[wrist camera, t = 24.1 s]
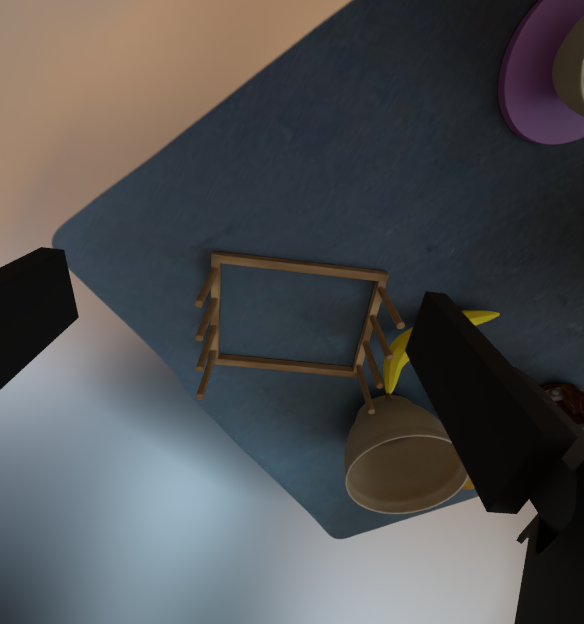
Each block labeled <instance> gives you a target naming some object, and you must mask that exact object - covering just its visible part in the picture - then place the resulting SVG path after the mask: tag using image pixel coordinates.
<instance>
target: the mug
mask: <svg viewBox="0 0 584 624" xmlns="http://www.w3.org/2000/svg"><path fill="white" fill-rule="evenodd" d="M541 388H542V389H543V390H544V391H545V392H546V395H549V396H550V397H551V398H552V399H553V400H554V401H555V402H556V403H557V407H560V408H561V409H562V410H563V411H564V412H565V413H566V414H567V415H568V416H569V417H570V418H571V419H572V420H573V421H574V422H575V423H576V424H577V425H578V426H579V427H580V429H581V430H582V431H583V432H584V389H580V388H577V387H576V386H575V385H573V384H554V385H553V387H552V386H551V385H546V386H543V387H541Z"/></svg>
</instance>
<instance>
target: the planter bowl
mask: <svg viewBox="0 0 584 624" xmlns="http://www.w3.org/2000/svg"><path fill="white" fill-rule="evenodd" d="M385 397H386V395H383V396H379V397H376V398H373V399H371V400H372V403H373V407H374V410H375V413H374V414H369V413H368V410H367V407H366V403H365V404H364V405H363V406H362V407H361V408H360V409H359V411H358V413H357V416H356V420H355V422H354V424H353V425H352V427H351V430H350V432H349V435H348V438H347V442H346V447H345V458H344V463H345V485H346V489H347V492H348V494H349V495H350V497H351V498H352V499H353V500H354V501H355V502H356V503H357V504H359V505H360V506H362V507H364V508H366V509H369V510H371V511H375V512H379V513H386V514H407V513H413V512H418V511H422V510H426V509H429V508H432V507H435V506H437V505H439V504H441V503H443V502H445V501H447V500H448V499H450V498H451V497H453V496H454V495H455V494H456V493H457V492H458V491H459V490H460V489H461V488H462V487H463V486H464V484H465V483H466V481H467V479H468V477H469V476H468V474H467V472H466V470H465V468H464V466H463V464H462V462H461V460H460V458H459V456H458V454H457V452H456V450H455V448H454V446H453V444H452V442H451V440H450V438H449V436H448V434H447V432H446V431H445V429H444V427H443V425H442V423H441V421H440V420H439V419H438V418H436V417H435V416H434V415H433V414H431V413H430V412H428V411H427V410H425V409H423V408H422V407H420V406H417V405H415V404H413V403H412V402H411V401H410V400H408V399H406V398H404V397H402V396H398V395H390V397H391V399H390V401H388V400H386V398H385Z"/></svg>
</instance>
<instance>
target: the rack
mask: <svg viewBox="0 0 584 624" xmlns="http://www.w3.org/2000/svg"><path fill="white" fill-rule="evenodd" d="M221 263H224V264H233V265H242V266H250V267H259V268H268V269H276V270H285V271H293V272H302V273H311V274H319V275H328V276H337V277H345V278H354V279H362V280H371V281H376V282H375V286H374V289H373V293H372V297H371V300H370V304H369V308H368V311H367V315H366V318H365V322H364V326H363V329H362V333H361V337H360V340H359V344H358V348H357V351H356V355H355V359H354V362H353V366H352V367H350V366H339V365H329V364H319V363H308V362H298V361H288V360H278V359H267V358H257V357H247V356H236V355H226V354H219V338H220V298H221ZM388 276H389V275H388V273H387V272H386V271H379V270H371V269H362V268H354V267H346V266H337V265H329V264H320V263H312V262H303V261H295V260H286V259H278V258H269V257H261V256H253V255H244V254H236V253H227V252H219V251H213V252H212V254H211V272H210V274H209V276H208V278H207V280H206V282H205V284H204V286H203V287H202V289H201V291H200V293H199V295H198V297H197V299H196V301H195V303H194V304H195V306H196V307H198V308H200V307H202V306H203V304H204V302H205V300H206V297H207V295H208V293H209V291H210V289H211V302H210V304H209V307H208V309H207V311H206V314H205V316H204V318H203V320H202V323H201V325H200V327H199V330H198V332H197V334H196V336H195V340H196V341H198V342H201V341H202V340H203V338H204V335H205V333H206V330H207V328H208V325H209V323H210V320H211V329H210V332H209V334H208V337H207V340H206V342H205V345H204V348H203V350H202V353H201V355H200V358H199V361H198V363H197V366H196V371H198V372H202V371H203V369H204V366H205V363H206V360H207V357H208V354H209V351H210V357H209V360H208V362H207V365H206V368H205V371H204V374H203V377H202V380H201V383H200V386H199V389H198V392H197V395H196V398H197V399H202V398H203V396H204V393H205V390H206V387H207V383H208V380H209V377H210V374H211V371H212V368H213V364H219V365H229V366H240V367H250V368H261V369H271V370H282V371H292V372H303V373H314V374H324V375H335V376H345V377H356V378H359V381H360V385H361V388H362V392H363V396H364V399H365V403H366V407H367V410H368V413H369V414H374V413H375V410H374V407H373V403H372V400H371V397H370V393H369V390H368V387H367V383H366V380H365V376H364V373H363V370H362V365H363V361H364V358H365V354H366V357H367V360H368V363H369V366H370V369H371V372H372V375H373V378H374V381H375V384H376V387H377V388H378V389H381V388H383V386H384V385H383V382H382V379H381V376H380V374H379V371H378V368H377V365H376V363H375V360H374V357H373V354H372V351H371V349H370V346H369V341H370V337H371V334H372V331H373V328H374V331H375V333H376V335H377V338H378V340H379V343H380V345H381V348H382V350H383V352H384V355H385V357H386V359H387V360H389V361H390V360H392V359H393V357H394V356H393V354H392V352H391V350H390V347H389V345H388V343H387V341H386V339H385V336H384V334H383V332H382V330H381V327H380V325H379V323H378V321H377V318H376V317H377V313H378V310H379V307H380V303H381V300H383V302H384V304H385V306H386V308H387V310H388V312H389V314H390V315H391V317H392V319H393V321H394V323H395V325H396V327H397V328H398V329H403V328H404V326H405V324H404V322H403V321H402V319H401V317H400V316H399V314H398V312H397V310H396V309H395V307H394V305H393V303H392V302H391V300H390V298H389V296H388V295H387V293H386V291H385V286H386V283H387V279H388Z"/></svg>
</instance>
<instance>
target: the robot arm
mask: <svg viewBox="0 0 584 624" xmlns="http://www.w3.org/2000/svg"><path fill="white" fill-rule="evenodd" d="M77 318H78V312H77V307H76V302H75V298H74V293H73V289H72V284H71V279H70V275H69V270H68V266H67V261H66V256H65V252H64V250H61V249H53V248H43V247H41V248H39V249H37V250H35V251H33V252H31V253H29V254H27V255H25V256H23V257H21V258H19V259H17V260H15V261H13V262H11V263H9V264H7V265H5V266H3V267H1V268H0V389H2V388H3V387H4V386H5V385H6V384H7V383H8V382H9V381H10V380H11V379H12V378H13V377H15V375H17V374H18V373H19V372H20V371H21V370H22V369H23V368H24V367H25V366H26V365H27V364H29V363H30V362H31V361H32V360H33V359H34V358H35V357H36V356H37V355H38V354H39V353H40V352H42V351H43V350H44V349H45V348H46V347H47V346H48V345H49V344H50V343H51V342H53V341H54V339H56V338H57V337H58V336H59V335H60V334H61V333H62V332H63V331H64V330H66V329H67V328H68V327H69V326H70V325H71V324H72V323H73V322H74V321H75V320H76V319H77ZM405 352H406V354H407V356H408V358H409V360H410V362H411V364H412V366H413V368H414V370H415V372H416V374H417V376H418V378H419V380H420V381H421V383H422V385H423V387H424V389H425V391H426V393H427V395H428V397H429V399H430V401H431V403H432V405H433V407H434V409H435V411H436V413H437V415H438V417H439V419H440V421H441V423H442V425H443V427H444V429H445V431H446V432H447V434H448V436H449V438H450V440H451V442H452V444H453V446H454V448H455V450H456V452H457V454H458V456H459V458H460V460H461V462H462V464H463V466H464V468H465V470H466V472H467V474H468V476H469V478H470V480H471V482H472V483H473V485H474V487H475V489H476V491H477V493H478V495H479V497H480V499H481V501H482V503H483V505H484V507H485V509H486V511H487V512H494V513H509V514H517V513H518V512H519V511H520V509H521V508H522V507H523V506H524V504H525V503H526V502H527V501H528V499H530V501H531V503H532V504H533V505H534V507H535V509H536V510H537V512H538V514H537V515H536V516H535V518H534V519H533V520H532V521H531V522H530V524H529V525H528V526H527V527H526V528H525V529H524V530H523V531H522V533H521V534H520V535H519V537H518V539H517V541H518V542H520V543H521V544H522V543H523V542H524V540H525V539H526V538H529V540H528V546H527V552H526V558H525V564H524V570H523V576H522V582H521V588H520V594H519V600H518V606H517V612H516V618H515V624H584V432H583V431H582V430H581V429H580V427H579V426H578V425H577V424H576V423H575V422H574V421H573V420H572V419H571V418H570V417H569V416H568V415H567V414H566V413H565V412H564V411H563V410H562V409H561V408H560V407H557V403H556V402H555V401H554V400H553V399H552V398H551V397H550V396H549V395H546V392H545V391H544V390H543V389H542V388H541V387H540V386H539V385H538V384H537V382H536V381H535V380H534V379H532V378H531V377H529V376H528V375H526V374H525V373H524V372H522V371H521V370H519V369H518V368H516V367H513V366H512V365H511V364H510V363H509V362H508V361H507V360H506V359H505V358H504V357H503V356H502V354H501V353H500V352H499V351H498V350H497V349H496V348H495V347H494V346H493V345H492V344H491V342H490V341H489V340H488V339H487V338H486V337H485V336H484V335H483V334H482V333H481V332H480V331H479V329H478V328H477V327H476V326H475V325H474V324H473V323H472V322H471V321H470V320H469V319H468V317H467V316H466V315H465V314H464V313H463V312H462V311H461V310H460V309H459V308H458V307H457V306H456V304H455V303H454V302H453V301H452V300H451V299H450V298H449V297H448V296H447V295H446V294H444V293H435V292H427V291H426V293H425V296H424V298H423V301H422V304H421V307H420V310H419V312H418V315H417V318H416V321H415V323H414V326H413V329H412V332H411V334H410V337H409V340H408V343H407V345H406V348H405Z"/></svg>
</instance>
